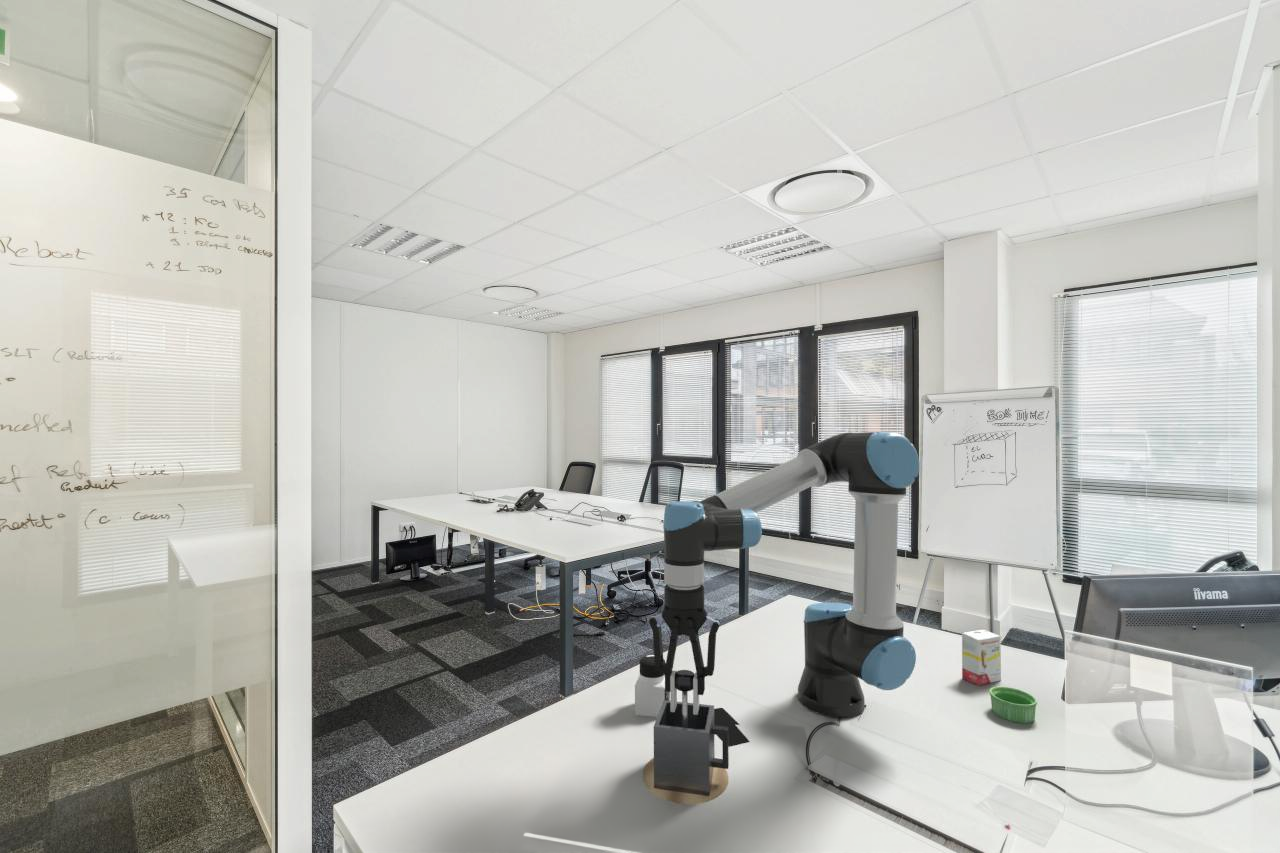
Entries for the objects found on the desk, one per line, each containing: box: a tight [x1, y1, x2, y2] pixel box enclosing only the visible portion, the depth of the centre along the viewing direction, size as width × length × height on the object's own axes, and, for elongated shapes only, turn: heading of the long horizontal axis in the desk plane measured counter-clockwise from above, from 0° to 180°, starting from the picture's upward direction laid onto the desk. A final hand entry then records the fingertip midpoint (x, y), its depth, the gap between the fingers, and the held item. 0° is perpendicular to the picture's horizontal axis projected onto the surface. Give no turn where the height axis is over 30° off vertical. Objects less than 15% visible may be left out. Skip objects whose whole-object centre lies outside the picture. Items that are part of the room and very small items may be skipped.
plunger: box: [675, 669, 695, 728], centre depth 100 cm, size 7×7×17 cm
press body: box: [653, 700, 730, 796], centre depth 100 cm, size 13×10×11 cm
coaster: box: [642, 757, 730, 805], centre depth 100 cm, size 16×16×1 cm
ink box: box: [961, 629, 1002, 686], centre depth 140 cm, size 9×5×12 cm, turn 110°
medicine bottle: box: [634, 654, 670, 718], centre depth 125 cm, size 7×7×12 cm
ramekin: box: [988, 686, 1038, 724], centre depth 123 cm, size 9×9×4 cm
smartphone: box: [714, 707, 751, 748], centre depth 117 cm, size 7×1×15 cm
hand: (684, 709), depth 101 cm, fingers closed on plunger, 4 cm apart
